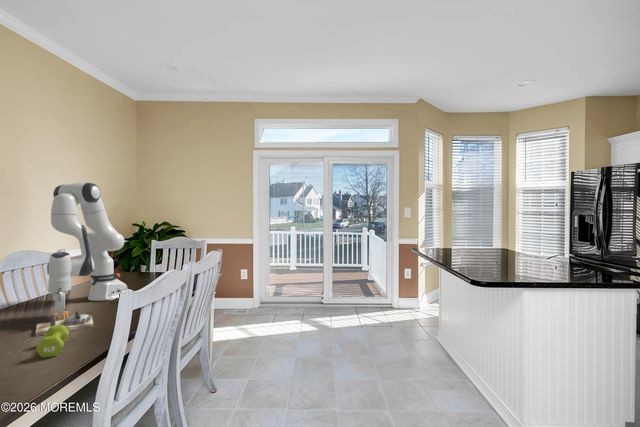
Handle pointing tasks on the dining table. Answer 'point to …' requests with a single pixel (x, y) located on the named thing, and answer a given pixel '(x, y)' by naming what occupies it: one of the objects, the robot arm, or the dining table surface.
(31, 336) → the dining table surface
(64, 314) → the orange gear
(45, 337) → the dumbbell
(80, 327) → the gear board
